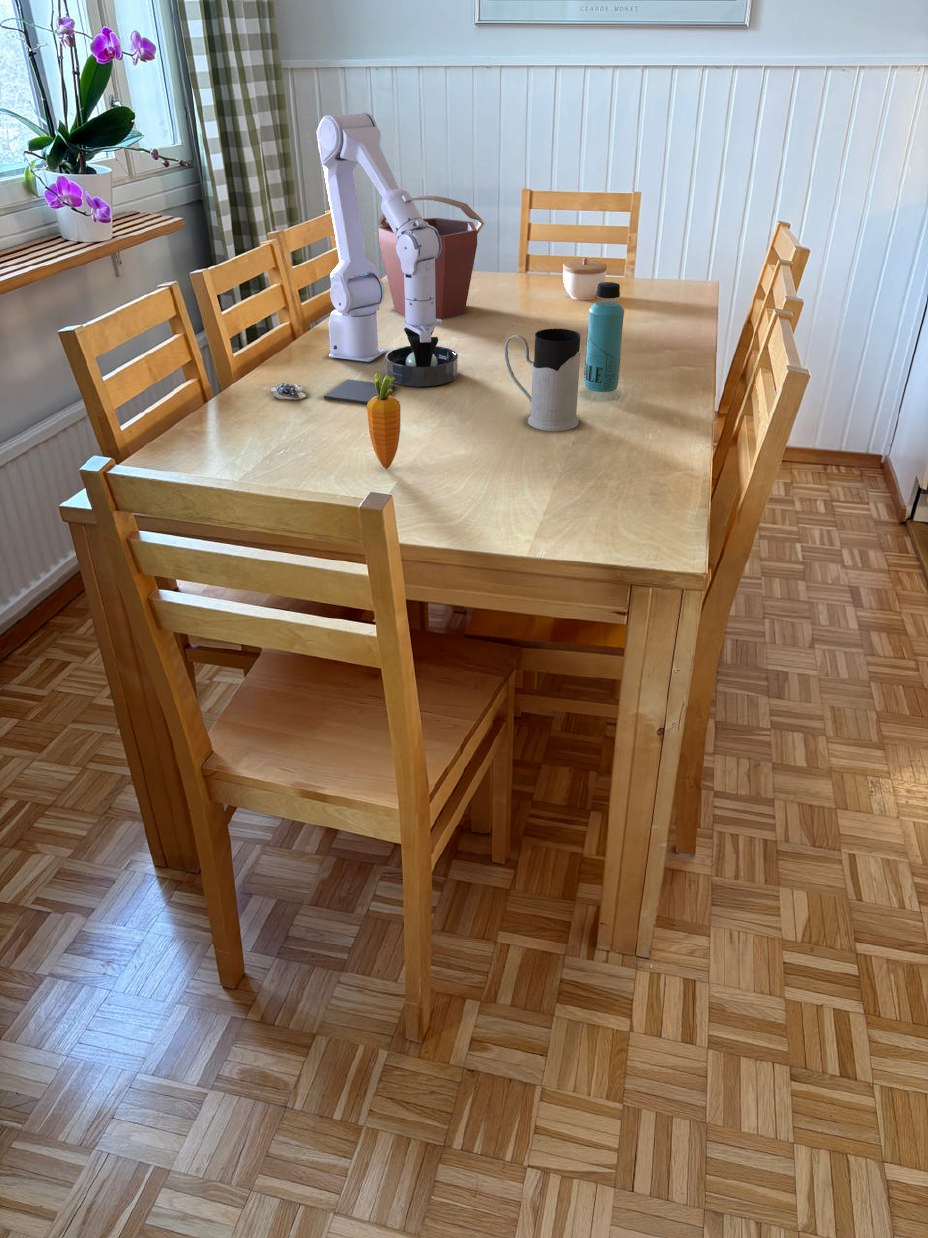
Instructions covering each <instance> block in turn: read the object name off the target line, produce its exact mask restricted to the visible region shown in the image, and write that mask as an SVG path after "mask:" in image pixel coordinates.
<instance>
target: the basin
mask: <svg viewBox="0 0 928 1238" xmlns="http://www.w3.org/2000/svg"><path fill="white" fill-rule="evenodd" d="M411 353H412V350H411V346H410V345H407V346H402V347H401V346H400V347H397V348H394V349H391V350H389V351H388V352H386V353H385V355H384V370H385V371H384V374H385V376H390V379H391V378H392V377H394V378H395V380H394V381H393V382H392V383H395V384H398V385H401V386H406V387H413V388H415V387H416V388H429V387H434V386H435V387H436V386H440V385H441V386H442V385H444V384H447V383H450V382H452V381H454V380H455V379H457V377H458V375H459V354H458V353H457V352H456V351H455V350H452V349H450V348H448V347H444V346H439V345H436V347H435V349H434V352H433V354H434V355H435V356H436V358H437V362H438V364H437V365H436V366H427V367H413V366H406V359H407V357H408V355H409V354H411Z"/></svg>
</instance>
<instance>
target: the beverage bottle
mask: <svg viewBox="0 0 928 1238" xmlns="http://www.w3.org/2000/svg"><path fill="white" fill-rule="evenodd" d="M595 297H597V298H600V299H605V300H599V301H596V302H594V303H593V304H592V305H591V306H590V307H589V310H588V325H587V327H588V328H587V329H586V331H587V334H586V337H587V338H586V353H585V361H584V366H585V367H584V374H583V384H584V388H586V389H587V390H589V391H592V392H597V393H610V392H614V391H616V390H617V389H618V386H619V379H620V372H621V370H620V367H621V356H622V352H623V351H622V338H623V327H624V318H625V317H624V316H625V308H624V307H623V306H622V305H621V303H619V302H618V301H615V300H611V299H617V298H620V297H621V285H620V284H619V283H617V282H614V281H613V282H612V281H605V282H602V283H599V284H598V286H597V292H596V296H595ZM607 299H608V300H607ZM609 299H610V300H609Z"/></svg>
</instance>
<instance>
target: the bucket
mask: <svg viewBox="0 0 928 1238" xmlns="http://www.w3.org/2000/svg"><path fill="white" fill-rule="evenodd" d="M411 198H412V200H413V202H414V201H433V202H439V203H443V204H446V205H449V206H452V207H456V208H458V209H460V210H461V211H462V212H463V213H464V214H465V215H466V216H467V217H468V218H469V219H472V220H476V221H477V223H478V224H477V225H476V226H475V224H474V222H473V221H467V220H460V219H451V218H443V217H442V218H441V217H428V218H422V219H423V221H426V222H428V224H429V225H430V226H433V227H434V228H436V230H437V231H438V234H439V236H440V239H441V244H442V247H441V253H440V255H439V256H438V258H436V259H435V307H436V319H441V320H442V319H446V318H449V317H453V316H458V315H461V314H465V313H466V309H467V302H468V297H469V291H470V286H471V282H472V281H471V280H472V275H473V269H474V266H475V265H474V264H475V258H476V253H477V248H478V234H479V233H480V231H481V229H482V228H483V227H484V225H485V222H484V220H483V219H482V218H481V216H480V215H479V214H478V213H477V212H475V211H474V210H473V209H472V208H471V207H470V205H468V203H467V202H463V201H459V200H456V199H452V198H448V197H445V196H444V197H443V196H437V195H415V196H411ZM378 225H379V226H380V227H378V243H379V247H380V251H381V256H382V260H383V265H384V270H385V273H386V278H387V282H388V287H389V291H390V295H391V300H392V303H393V304H392V305H393V308H394V311H395V312H397V313H400V314H401V315H404V316H405V287H404V273H403V272H402V269H401V261H400V259H399V257H398V254H397V250H396V245H397V244H398V239H397V238H396V236H395V234H394V232H393V230H392V228H391V226H390V225H389V223H388V221H387V219H386V217H385V215H384V213H383V214H382V215H381V217H380V218H379V219H378Z"/></svg>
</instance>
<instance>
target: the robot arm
mask: <svg viewBox="0 0 928 1238" xmlns="http://www.w3.org/2000/svg"><path fill="white" fill-rule="evenodd" d="M381 132H382V131H381V130H380V129H379V127H378V125H377V122H376V120H375V118H374V117H373V116H372V114H371V113H369V112H366V111H365V112H364V111H363V112H361V113H352V114H338V115H332V114H327V115H324V116H323V117H322V118H321V120H320V122H319V124H318V127H317V129H316V130H315V133H316V140H317V145H318V152H319V156H320V162H321V165H322V167H323V171H324V172H323V173H324V179H325V186H326V190H327V191H326V192H327V196H328V202H329V208H330V214H331V220H332V226H333V232H334V237H335V243H336V250H337V254H338V255H337V256H338V264H337V265H336V266H335V267H334V269H333V270H332V271H331V272H330V274H329V278H330V289H329V296H330V301H331V304H332V306H333V307H334V309H333V310H332V311H331V313H330V315H329V318H328V337H329V350H330V352H329V354H328V357H329V358H333V359H343V360H351V361H359V362H367V363H370V362H372V361H374V360H375V359H377V358H378V357H380V356H381V355H383V354H384V353H385V352H386V353H387V350H386V348H380V347H379V337H378V319H377V315H378V314H377V311H380V305H381V304H382V303H383V302H384V300H385V299H384V298H385V287H384V284H383V282H382V279H381V277H380V274H379V268H378V266H377V265H375V264H374V263H373V262H371V261H370V260H369V259H368V258H367V254H366V253H367V252H366V246H365V240H364V233H363V229H362V221H361V217H360V209H359V204H358V203H359V202H358V197H357V192H356V185H355V179H354V173H353V172H354V170H355V168H356V167H357V165H358V163H359V165H361V167H362V169H363V170H364V172H365V173H366V175H367V177H368V178H369V179H370V181H371V182H372V184H373V186H374V187H375V190H377V192H378V194H379V195H380V197H381V198H382V199H381V203H380V210H381V211H382V213H383V214H384V215H385V217H386V222H387V223H389V225H390V226H391V228H392V230H393V232H394V234H395V236H396V238H397V239H398V244H397V245H396V250H397V254H398V257H399V259H400V261H401V269H402V272H403V273H404V287H405V315H404V316H405V320H404V328H403V330H404V333H405V335H406V336H407V340H408V343H409V346H411V350H412V352H414V357H415V363H416V367H427V366H431V360H432V355H433V352H434V349H435V347H436V346H438V343H439V338H438V337H439V336H433V333H434V331H435V329H436V327H437V326H438V327H439V326H442V325H443V320H442V319H436V307H435V259H436V258H438V256H439V255H440V253H441V247H442V244H441V239H440V236H439V234H438V231H437V230H436V228H434V227H433V226H430V225H429V224H428V222H426V221H423V219H424V218H423V217H422V215H421V213H420V211H419V210H418V207H417V206H416V204H415V202H414V201H413V200H412V196H411V194H410V193H409V191H407V190H405V189H401V188H399V185H398V183H397V180H396V179H395V176H394V174H393V171H392V170H391V167H390V165H389V163H388V161H387V158H386V156H385V154H384V152H383V150H382V147H381V140H382V139H381V137H382V135H381ZM359 275H360V276H359Z"/></svg>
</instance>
